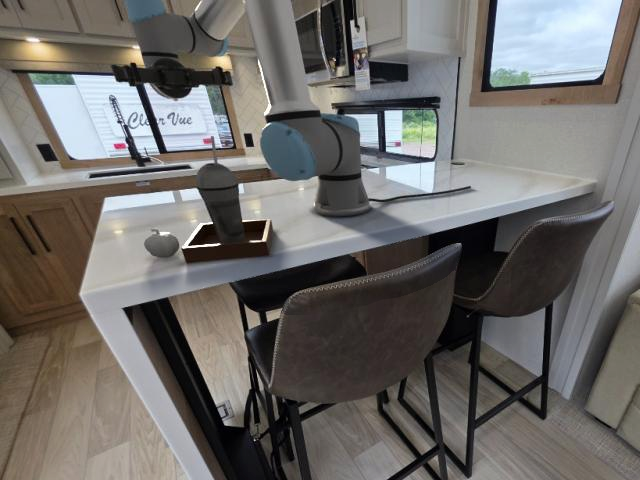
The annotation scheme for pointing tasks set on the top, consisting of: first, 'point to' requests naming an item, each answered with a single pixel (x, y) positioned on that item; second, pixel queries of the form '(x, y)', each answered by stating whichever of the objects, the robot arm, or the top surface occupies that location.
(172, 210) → the top surface
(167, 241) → the grey pumpkin
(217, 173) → the beverage cup
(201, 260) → the tray
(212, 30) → the robot arm
